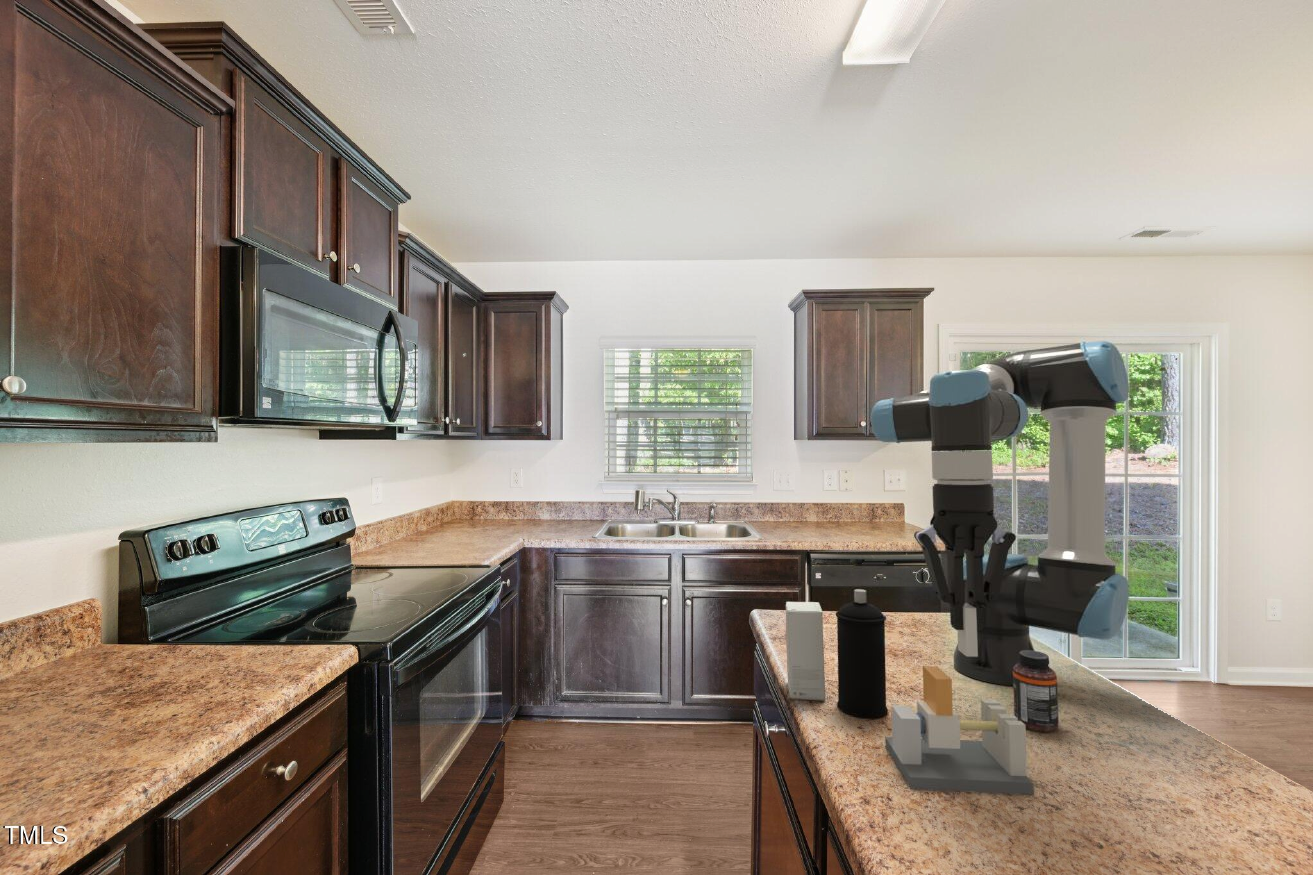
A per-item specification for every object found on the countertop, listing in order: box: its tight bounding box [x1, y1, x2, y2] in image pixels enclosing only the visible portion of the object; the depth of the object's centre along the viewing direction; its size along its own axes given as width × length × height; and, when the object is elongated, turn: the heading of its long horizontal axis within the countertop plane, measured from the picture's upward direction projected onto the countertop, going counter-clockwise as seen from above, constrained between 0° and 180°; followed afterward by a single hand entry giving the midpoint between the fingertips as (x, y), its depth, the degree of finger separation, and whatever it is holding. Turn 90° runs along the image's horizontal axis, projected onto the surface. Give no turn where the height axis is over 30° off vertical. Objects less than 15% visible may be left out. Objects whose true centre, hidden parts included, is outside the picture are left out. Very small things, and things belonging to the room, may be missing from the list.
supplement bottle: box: [1012, 650, 1060, 734], centre depth 93 cm, size 6×6×11 cm
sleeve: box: [916, 665, 961, 749], centre depth 80 cm, size 4×5×9 cm
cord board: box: [884, 698, 1034, 796], centre depth 80 cm, size 15×11×8 cm
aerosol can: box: [835, 588, 889, 720], centre depth 100 cm, size 8×8×20 cm
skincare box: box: [785, 601, 826, 701], centre depth 107 cm, size 8×7×16 cm
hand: (967, 652), depth 81 cm, fingers closed
